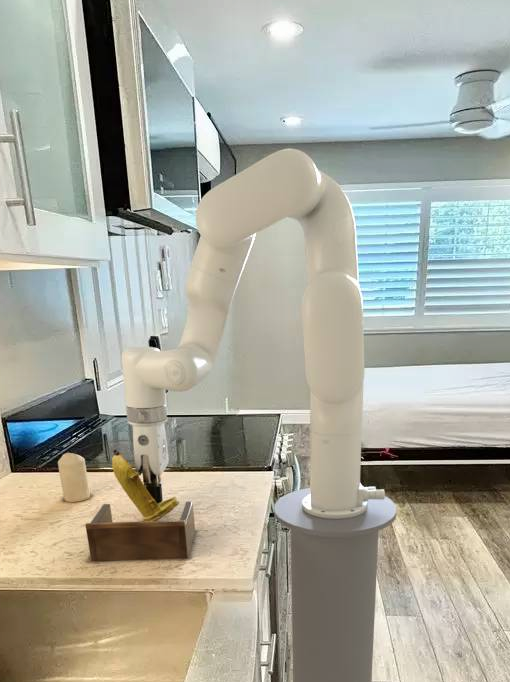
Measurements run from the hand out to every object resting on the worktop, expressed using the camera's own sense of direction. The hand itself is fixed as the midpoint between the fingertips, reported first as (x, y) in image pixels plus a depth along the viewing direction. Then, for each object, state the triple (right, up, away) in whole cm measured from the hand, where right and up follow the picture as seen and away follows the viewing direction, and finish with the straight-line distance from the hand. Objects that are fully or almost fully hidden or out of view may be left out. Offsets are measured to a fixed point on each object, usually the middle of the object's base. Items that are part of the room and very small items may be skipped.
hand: (154, 502), depth 116 cm
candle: (-19, +1, +10) cm, 21 cm away
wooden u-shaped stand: (+1, -8, -14) cm, 16 cm away
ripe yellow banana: (0, -4, -4) cm, 5 cm away
